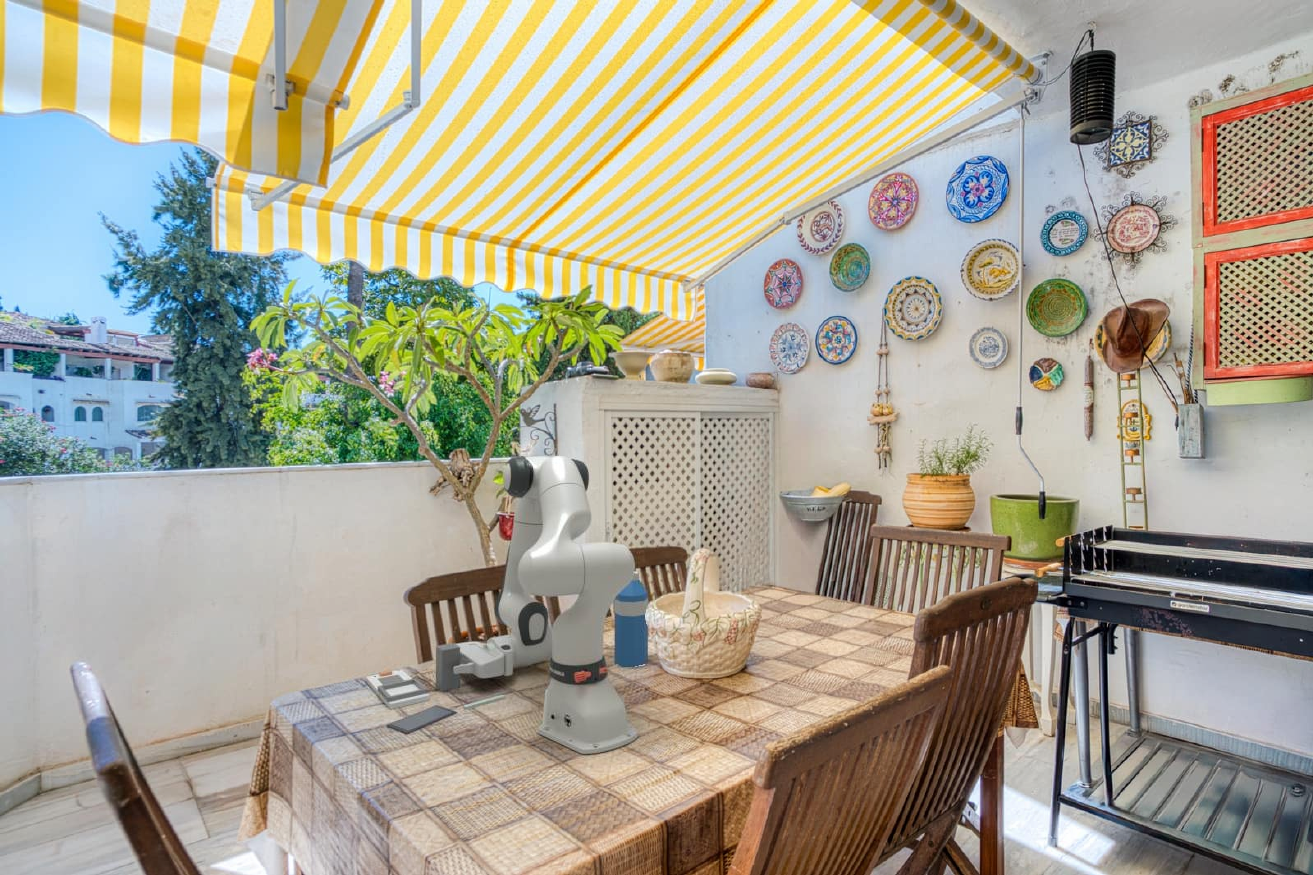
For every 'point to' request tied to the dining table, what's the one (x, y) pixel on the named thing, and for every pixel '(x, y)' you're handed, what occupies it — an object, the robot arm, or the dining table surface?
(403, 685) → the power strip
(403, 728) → the phone
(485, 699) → the pale green stick
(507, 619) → the robot arm
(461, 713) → the dining table surface
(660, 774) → the dining table surface
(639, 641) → the water bottle
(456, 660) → the grey rectangular block
